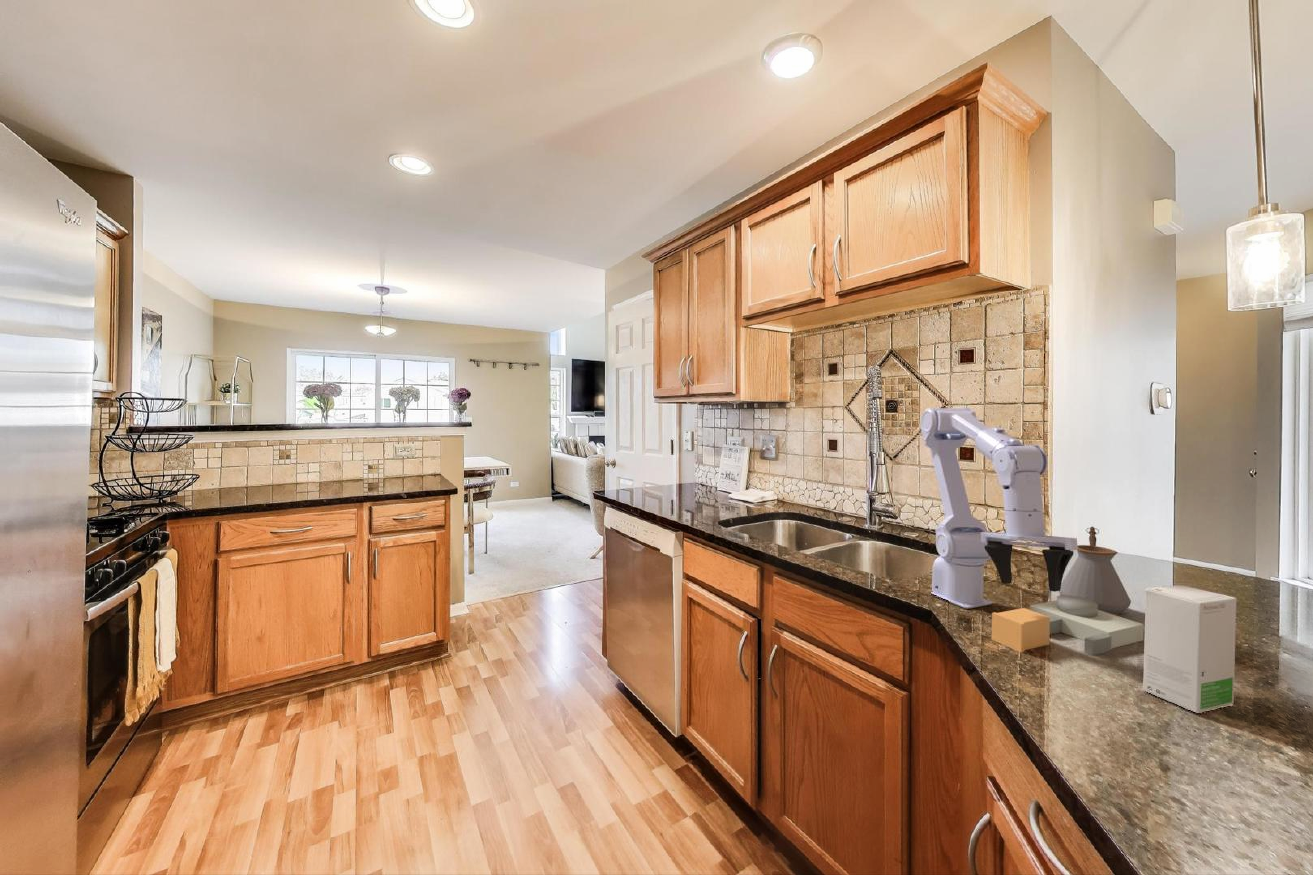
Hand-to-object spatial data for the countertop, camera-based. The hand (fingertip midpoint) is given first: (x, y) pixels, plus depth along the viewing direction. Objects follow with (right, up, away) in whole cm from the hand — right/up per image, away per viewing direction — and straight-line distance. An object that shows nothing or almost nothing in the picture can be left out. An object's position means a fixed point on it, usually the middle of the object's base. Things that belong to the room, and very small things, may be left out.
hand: (1029, 586), depth 87 cm
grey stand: (+12, -10, +5) cm, 16 cm away
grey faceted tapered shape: (+29, -10, +19) cm, 36 cm away
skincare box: (+10, -11, -17) cm, 22 cm away
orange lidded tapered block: (-1, -10, +1) cm, 10 cm away
